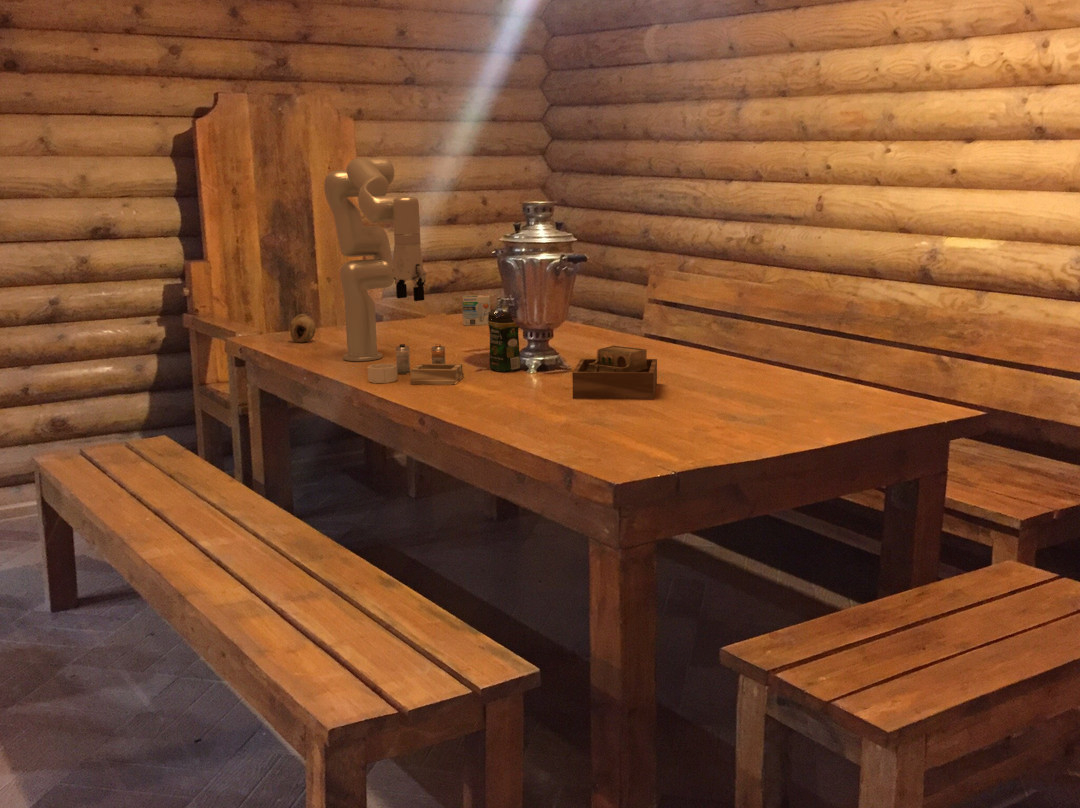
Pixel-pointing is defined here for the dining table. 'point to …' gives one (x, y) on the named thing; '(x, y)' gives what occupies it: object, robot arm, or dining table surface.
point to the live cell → (438, 354)
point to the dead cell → (403, 359)
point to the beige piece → (382, 373)
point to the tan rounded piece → (302, 328)
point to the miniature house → (619, 360)
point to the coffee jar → (503, 343)
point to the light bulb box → (476, 309)
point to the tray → (436, 374)
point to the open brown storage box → (614, 382)
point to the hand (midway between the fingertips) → (410, 299)
